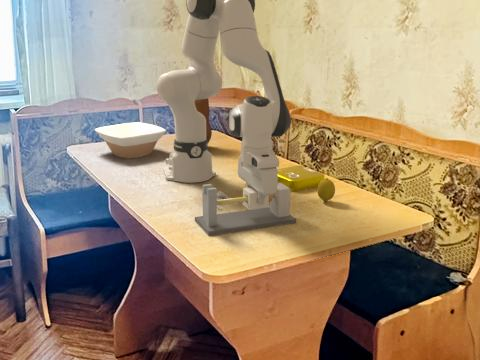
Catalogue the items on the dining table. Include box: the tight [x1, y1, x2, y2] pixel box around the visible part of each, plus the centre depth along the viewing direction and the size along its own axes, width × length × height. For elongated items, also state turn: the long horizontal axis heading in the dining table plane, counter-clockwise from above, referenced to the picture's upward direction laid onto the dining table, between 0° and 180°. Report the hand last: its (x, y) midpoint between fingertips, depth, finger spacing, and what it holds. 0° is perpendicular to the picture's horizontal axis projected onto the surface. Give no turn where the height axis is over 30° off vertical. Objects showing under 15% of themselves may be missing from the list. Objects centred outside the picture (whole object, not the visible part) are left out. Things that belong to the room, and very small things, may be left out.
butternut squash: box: [195, 98, 213, 144], centre depth 250 cm, size 14×13×25 cm
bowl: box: [94, 121, 167, 160], centre depth 243 cm, size 24×25×11 cm
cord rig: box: [194, 183, 297, 237], centre depth 169 cm, size 12×27×12 cm, turn 112°
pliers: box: [217, 190, 243, 211], centre depth 189 cm, size 10×2×15 cm
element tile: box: [277, 165, 325, 193], centre depth 207 cm, size 15×15×5 cm
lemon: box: [316, 177, 336, 203], centre depth 188 cm, size 6×6×8 cm
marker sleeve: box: [242, 187, 270, 210], centre depth 170 cm, size 5×6×5 cm
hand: (255, 200), depth 171 cm, fingers closed on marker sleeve, 5 cm apart
